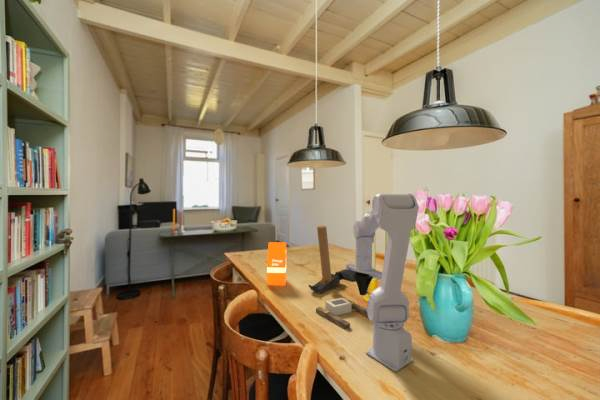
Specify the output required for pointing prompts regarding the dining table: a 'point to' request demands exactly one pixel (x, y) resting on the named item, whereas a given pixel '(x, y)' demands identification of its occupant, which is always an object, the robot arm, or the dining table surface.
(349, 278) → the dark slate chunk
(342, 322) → the guide rails
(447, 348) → the dining table surface
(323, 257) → the hammer
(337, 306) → the block
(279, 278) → the orange juice
